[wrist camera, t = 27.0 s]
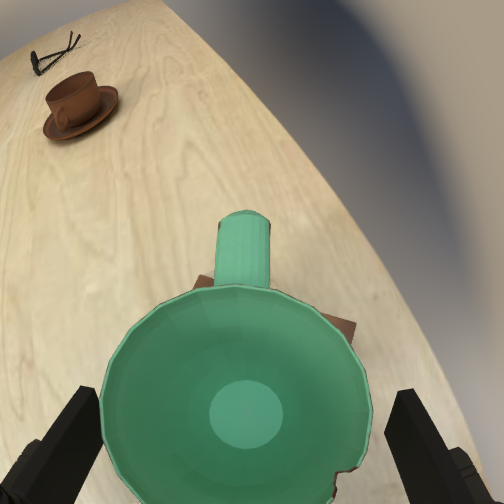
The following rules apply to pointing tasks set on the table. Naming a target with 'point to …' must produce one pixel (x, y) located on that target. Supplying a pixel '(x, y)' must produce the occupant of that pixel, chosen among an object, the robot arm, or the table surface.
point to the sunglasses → (36, 60)
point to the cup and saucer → (77, 106)
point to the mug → (235, 390)
